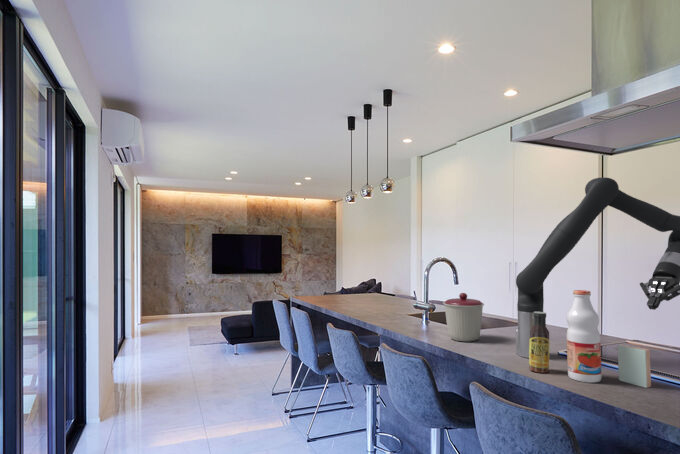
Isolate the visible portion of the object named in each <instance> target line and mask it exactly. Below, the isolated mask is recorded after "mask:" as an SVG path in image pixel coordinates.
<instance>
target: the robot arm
mask: <svg viewBox="0 0 680 454" xmlns="http://www.w3.org/2000/svg"><path fill="white" fill-rule="evenodd" d="M584 187H585V188H584V191H585V196H584V197H583V198H582V200H581V202H579V204H578V206H576V207H575V208H574V210H573V211H571V212H570V213H569V214H567V215H566V216H565V217H563V219H562V220H561V221H560V222H559V223H558V224H557V225H556V227H554V228H553V230H552V231H551V233H550V234H549V235H548V237H547V238H546V240H544V243H543V244H542V246H541V247H540V249H539V251H538V252H537V254H536V255H535V257H534V258H533V259H532V261H530V262H529V263H528V264H527V265H526V266H525V267H524V268H523V270H521V272H519V273H518V274H517V276H516V279H515V285H516V288H517V304H516V305H517V306H516V307H517V308H516V309H517V310H516V311H517V328H516V329H515V344H516V345H515V346H516V347H515V348H516V349H515V351H516V353H515V354H517V355H518V356H520V357H522V358H526V359H527V358H528V359H529V339H530V330H531V328H532V326H533V325H534V324H533V323H534V316H533V312H544V304H545V303H544V299H545V298H544V282H545V281H546V279H547V278H548V276H549V275H550V273H551V272H552V270H554V268H555V267H556V266H557V265H558V264H559V263H560V262H561V261H563V260H564V258H565V257H567V256H568V254H569V253H570V252H572V250H573V249H574V247H576V245H578V243H579V241H580V240H581V239H582V238H583V236H584V235H585V234H586V232H587V231H588V229H589V228H590V227H591V226H592V224H593V223H594V221H595V220H596V218H597V217H598V216H599V215H601V213H602V212H603V211H605V210H606V208H607V207H608V206H609V207H611V208H613V209H615V210H617V211H621V212H622V213H624V214H626V215H627V216H630V217H632V218H633V219H636V220H637V221H639V222H640V223H643V224H645V225H646V226H648V227H650V228H652V229H653V230H656V231H658V232H660V233H665V232H666V233H667V232H670V231H671V232H670V233H669V235H668V240H667V247H666V249H665V251H664V253H663V254H662V256H661V258H660V259H659V261H658V263H657V265H656V267H655V269H654V270H653V272H652V276H651V278H649V280H648V282H645V283H644V282H639V286H640V287H641V290H642V291H643V293H644V295H645V296H646V298H647V299H648V301H647V302H646V306H647V307H648V308H649V310H654V311H655V310H656V309H658V308H659V306H660V304H661V303H662V302H663V301H667V302H669V301H670V300H672V299H674V298H677V297H678V296H680V215H677V214H673V213H670V212H668V211H667V210H665V209H662V208H661V207H658V206H656V205H654V204H651V203H649V202H647V201H644V200H641V199H639V198H636V197H633V196H631V195H630V194H627V193H626V192H624V191H622V190H621V189H620V188H619V184H618V182H617V181H616V180H615V179H613V178H610V177H604V176H603V177H596V178H593V179H591V180H589V181H588V182H587V183H586V185H585V186H584ZM650 288H651V289H650ZM649 290H650V291H649Z"/></svg>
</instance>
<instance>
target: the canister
mask: <svg viewBox="0 0 680 454" xmlns="http://www.w3.org/2000/svg"><path fill="white" fill-rule="evenodd" d="M458 297H459V298H449V299H446V300H445V301H443V303H442V305H444V311H445V318H446V319H445V320H446V326H447V332H448V336H449V338H450V339H452V340H453V341H457V342H467V343H468V342H475V341H477V340H479V338H480V336H481V329H482V319H483V310H484V309H483V308H484V306H485V303H484V302H482V301H481V300H479V299H474V298H468V294H467V293H466V292H461V293H459V295H458Z"/></svg>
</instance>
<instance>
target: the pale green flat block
mask: <svg viewBox="0 0 680 454" xmlns="http://www.w3.org/2000/svg"><path fill="white" fill-rule="evenodd" d="M617 363H618V366H617V368H618V381H620V382H623V383H628V384H631V385H635V386H639V387H643V388H645V389H646V388H651V387H652V377H651V376H652V375H651V374H652V372H651V350H650V349H648V348H643V347H638V346H633V345H630V344H629V345H628V344H622V343H621V344H617Z"/></svg>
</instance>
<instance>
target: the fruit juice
mask: <svg viewBox="0 0 680 454" xmlns="http://www.w3.org/2000/svg"><path fill="white" fill-rule="evenodd" d="M572 291H573V292H572V295H573V297H574V299H573V302H572V305H571V307H570V309H569V310H568V311H567V313H566V323H567V325H568V328H567V330H566V356H567V357H566V358H567V361H566V362H567V375H568V378H569V379H572V380H574V381H576V382H577V381H579V382H583V383H590V384H591V383H592V384H593V383H595V384H596V383H599V382H601V380H602V354H601V349H602V348H601V334H600V331H599V328H598V327H599V324H600V317H599V314H598V313H597V312H596V310H595V309H594V307H593V304H592V302H591V298H590V297H591V295H592V294H591V293H592V292H591V291H590V290H585V289H574V290H572Z"/></svg>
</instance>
